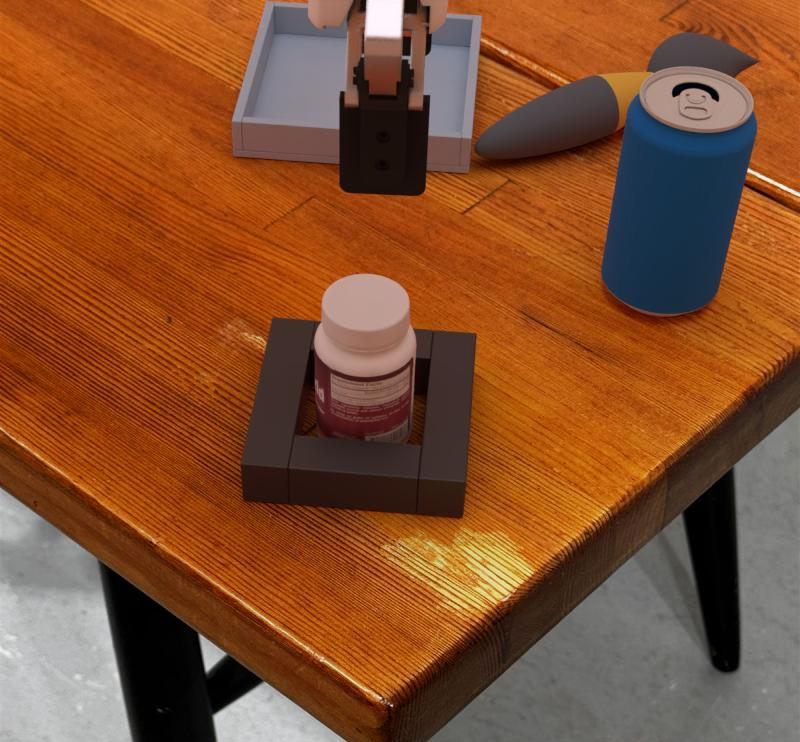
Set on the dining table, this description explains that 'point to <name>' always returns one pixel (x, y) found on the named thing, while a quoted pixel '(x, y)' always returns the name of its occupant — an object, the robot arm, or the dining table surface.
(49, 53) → the dining table surface
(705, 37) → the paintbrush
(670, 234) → the beverage can
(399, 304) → the pill bottle
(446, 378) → the frame
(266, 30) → the tray
